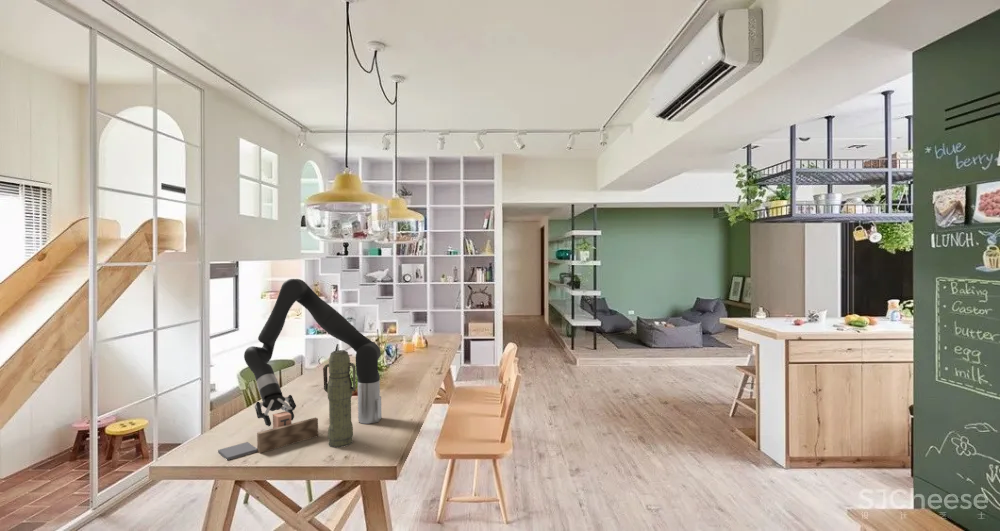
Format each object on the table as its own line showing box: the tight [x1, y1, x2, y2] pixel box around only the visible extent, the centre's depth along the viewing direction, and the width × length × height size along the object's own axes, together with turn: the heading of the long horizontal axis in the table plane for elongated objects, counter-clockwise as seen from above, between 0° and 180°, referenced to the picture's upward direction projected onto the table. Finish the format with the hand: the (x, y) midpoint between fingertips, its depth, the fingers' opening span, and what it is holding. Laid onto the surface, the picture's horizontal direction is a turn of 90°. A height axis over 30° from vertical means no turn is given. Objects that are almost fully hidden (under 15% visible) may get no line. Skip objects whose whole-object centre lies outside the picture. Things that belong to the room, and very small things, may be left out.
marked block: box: [272, 410, 292, 429], centre depth 184 cm, size 5×5×10 cm
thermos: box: [322, 349, 357, 448], centre depth 180 cm, size 9×12×35 cm
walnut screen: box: [256, 416, 319, 454], centre depth 180 cm, size 22×2×7 cm, turn 137°
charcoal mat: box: [217, 441, 259, 461], centre depth 173 cm, size 10×10×1 cm
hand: (281, 422), depth 185 cm, fingers open, 8 cm apart
